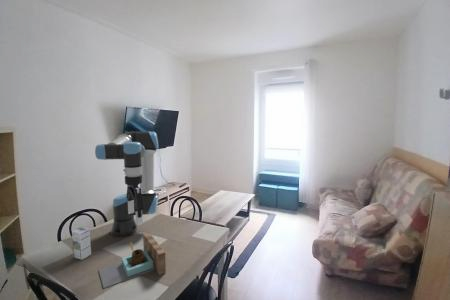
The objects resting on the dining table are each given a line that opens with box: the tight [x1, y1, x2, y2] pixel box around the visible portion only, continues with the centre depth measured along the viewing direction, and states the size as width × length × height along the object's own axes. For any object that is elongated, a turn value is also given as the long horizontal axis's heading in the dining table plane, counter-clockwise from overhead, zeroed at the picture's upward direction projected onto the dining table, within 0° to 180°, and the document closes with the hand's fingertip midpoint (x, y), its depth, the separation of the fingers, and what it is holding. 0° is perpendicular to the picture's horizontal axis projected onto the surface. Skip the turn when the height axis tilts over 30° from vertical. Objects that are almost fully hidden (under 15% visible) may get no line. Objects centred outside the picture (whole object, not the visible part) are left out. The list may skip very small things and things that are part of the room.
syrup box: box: [71, 226, 92, 261], centre depth 117 cm, size 6×6×14 cm
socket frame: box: [121, 250, 154, 277], centre depth 109 cm, size 12×12×3 cm
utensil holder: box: [129, 241, 145, 267], centre depth 109 cm, size 6×6×12 cm
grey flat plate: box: [98, 261, 156, 289], centre depth 107 cm, size 14×22×1 cm, turn 126°
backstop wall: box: [142, 231, 167, 276], centre depth 114 cm, size 24×3×10 cm, turn 36°
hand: (135, 218), depth 110 cm, fingers open, 13 cm apart
